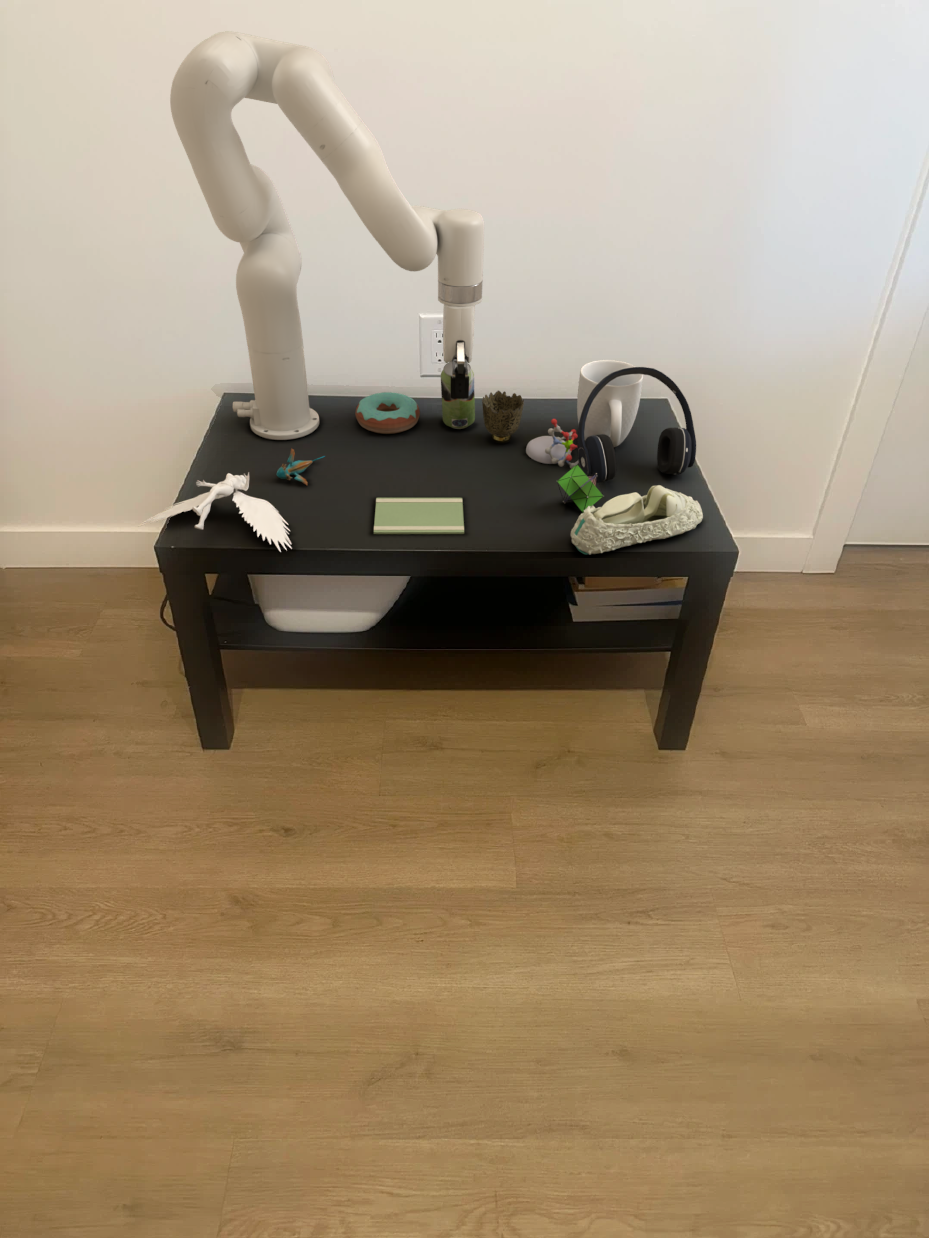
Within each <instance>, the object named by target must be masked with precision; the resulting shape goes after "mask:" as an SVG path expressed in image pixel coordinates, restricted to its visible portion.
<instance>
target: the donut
mask: <svg viewBox="0 0 929 1238" xmlns="http://www.w3.org/2000/svg"><path fill="white" fill-rule="evenodd" d="M420 415H421V411H420V407H419V405H418V403H417V401H415V400H414V399H413V398H412V397H410V396H408V395H406V394H403V393H399V392H391V391H390V392H389V391H388V392H385V391H384V392H375V393H373V394H369V395H367V396H365V397H363V398H362V399H360V400H359V402H358V404H357V406H356V408H355V418H356V420H357V423H358V424H359V425H360V426H361V427H362V428H363V429H365V430H367V431H370V432H372V433H376V434H381V435H382V434H383V435H391V434H392V435H393V434H399V433H404V432H405V431H408V430H410V429H412V428H413V427H415V426H416V424H417V423H418V421H419V418H420Z"/></svg>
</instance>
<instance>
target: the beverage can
mask: <svg viewBox="0 0 929 1238" xmlns="http://www.w3.org/2000/svg"><path fill="white" fill-rule="evenodd" d="M456 367H457V364H455V368H456ZM464 367H465V364H464ZM442 368H443V369H442V371H441V372H440V393H441V394H440V395H441V413H442V415H441V416H442V422H443V423H444V424H445V425H446V426H447V427H449V428H451V429H456V430H461V429H466V428H468V427H470V426H471V425H472V424H474V422H475V419H476V404H475V403H476V402H475V401H476V400H475V399H476V397H475V395H476V394H475V372H474V370H473V368H472V366H471V365H470V363H468V376H469V398H468V399H452V398H451V376H452V362H448V363H445V364H444V366H443V367H442Z"/></svg>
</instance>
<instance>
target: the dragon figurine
mask: <svg viewBox="0 0 929 1238" xmlns="http://www.w3.org/2000/svg"><path fill="white" fill-rule="evenodd" d="M295 455H296V453H295V449H293V447H291V448H290V453H289V457H288V458H287V460H286V462H287V463H289V464H288V465H287V463H285V464H284V463H282V465H281V466H280V467H279V468H278V469H277V472H276V477H277V478H279V479H281V480H288V481H291V480H292V479H293V477H292V476H295V477H294V480H295V481H298V482H301V483H302V484H304V485H306V486H307V487H308V486H309V485H308V484H309V483H308V481H307V479H306V478H305V477H303V476H302V475H300V474H302V473H303V472H305V471H306V469H307V468H308V467H310V466H311V465H313V462H316V461H319V460H322V459H323V458H325V457H326V455H323V456H320V457H317V458H315V459H313V460H312V459H309V460H301V459H299V460H295Z"/></svg>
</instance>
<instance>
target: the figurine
mask: <svg viewBox="0 0 929 1238" xmlns="http://www.w3.org/2000/svg"><path fill="white" fill-rule="evenodd" d="M195 484H196V486H197V487H199V488H200V487H207V488H208V487H209V488H210V490H209V491H208V492H204V493H201V494H198V495H197V496H194V497H193V498H189V499H186V500H183V501H180V502H176V503H173V504H172V506H169V507H168V506H167V507H165V508H164V511H161V512H159V513H156V514H155V515H153V516H149V518H147V519H146V520H144V521H142V522H141V523H139V525H138V526H137V528H139V527H141V526H144V525H147V524H152V523H154V522H156V523H157V522H159V521H163V520H165V519H168V518H169V517H174V516H176V515H178V514H181V513H182V512H184V513H186V512H188V511H191V510H192V511H193V512H194V513H196V515H197V516H198V517H199V521H198V524H195V525H194V529H198V530H202V531H203V530H204V526H205V525H204V524H205V520H206V519H207V518H208V515H209V513H210V511H211V506H212V503H213V501H214V500H217V499H218V500H219V499H222V498H224V497H225V498H226V497H229V496H231V495H232V494H233V497H232V502H233V503H235V506H236V507H235V508H239V509H238V510H239V512H238V514H239V515H240V514H242V515H241V518H243V519H244V522H246V523H247V524H249V525H250V527H253V529H252V530H253V532H255V531H256V536H257V538H259V536H260V535H261V538H262V541H263V542H264V541H265V540H266V539H267V542H268V543H269V545H272V542H273V544H274V545H275V547H276V548H277V550H278V551H279V552H280V553H282V551H281V547H280V545H279V544H281V546H282V547H283V549H284V550H286V551H288V550H287V547H289V548H290V549H291V550H292V549H293V547H292V546H291V545H292V544H293V543H292V541H291V540H290V538H289V536H288V535H290V533H289V532H291V530H290V528H289V527H288V526H289V523H288V522H287V521H286V520H285V519H284V518H283V516H282V515H281V514H280V511H279V510H278V509H277V508H275V506H274V505H273V504H272V503H270V502H269V501H268V500H266V499H262V498H258V497H255V496H251V495H247V494H245V493H243V492H241V491H242V490H243V491H245V492H247V491H248V489H249V488H250V472H247V475H246V473H243V474H240V475H239V474H235V475H233V474H232V473H229V472H228V473H227V474H226V475H225V479H224V480H222V481H219V482H217V483H211V482H206V481H205V480H204V479H202V481H200V480H198V479H197V480H196V482H195ZM239 490H241V491H239ZM286 525H288V526H286ZM285 545H286V546H287V547H286V546H285Z"/></svg>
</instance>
